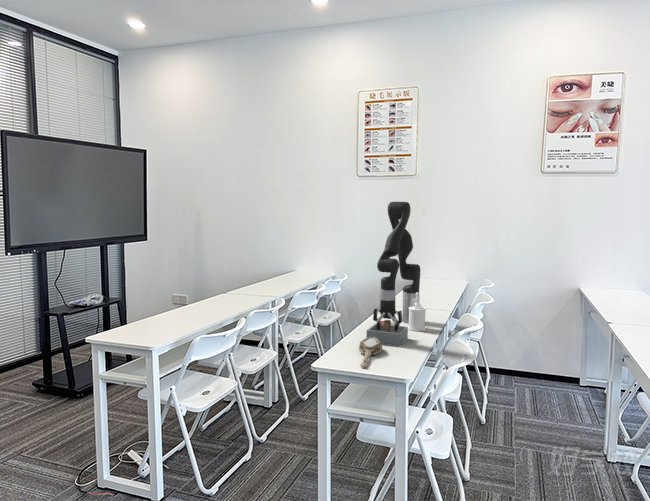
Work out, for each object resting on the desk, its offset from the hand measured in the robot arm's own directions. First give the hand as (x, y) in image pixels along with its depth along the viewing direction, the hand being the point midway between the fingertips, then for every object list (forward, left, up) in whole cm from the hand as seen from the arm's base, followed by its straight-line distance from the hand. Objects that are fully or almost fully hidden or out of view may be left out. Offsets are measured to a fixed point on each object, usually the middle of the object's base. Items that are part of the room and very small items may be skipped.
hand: (387, 330), depth 241 cm
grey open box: (0, 0, -5) cm, 5 cm away
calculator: (-17, -6, -6) cm, 19 cm away
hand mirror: (+28, 0, -6) cm, 28 cm away
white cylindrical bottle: (-27, +8, -5) cm, 29 cm away
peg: (0, 0, -5) cm, 5 cm away
